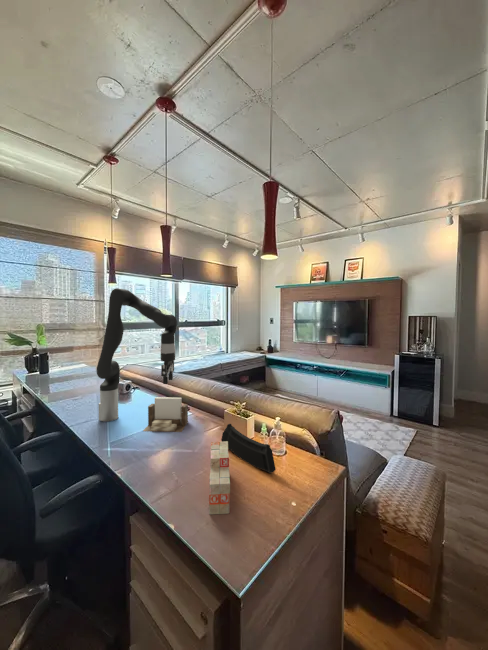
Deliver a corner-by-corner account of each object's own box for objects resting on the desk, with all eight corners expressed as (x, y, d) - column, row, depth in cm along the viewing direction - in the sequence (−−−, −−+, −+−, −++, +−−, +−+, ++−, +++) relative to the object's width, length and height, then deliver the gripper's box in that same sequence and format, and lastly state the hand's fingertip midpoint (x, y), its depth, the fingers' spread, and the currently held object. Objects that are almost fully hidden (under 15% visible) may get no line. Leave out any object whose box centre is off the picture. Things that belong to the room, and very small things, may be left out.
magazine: (280, 452, 98) (232, 408, 120) (274, 455, 96) (226, 410, 118) (270, 489, 102) (225, 441, 124) (264, 493, 100) (220, 443, 122)
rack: (142, 433, 135) (142, 411, 135) (152, 422, 149) (152, 402, 149) (181, 433, 134) (181, 412, 134) (188, 422, 148) (188, 403, 148)
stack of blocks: (230, 514, 80) (229, 473, 79) (208, 515, 79) (208, 474, 79) (228, 472, 101) (228, 440, 101) (211, 473, 100) (211, 441, 100)
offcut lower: (150, 430, 136) (150, 426, 136) (153, 427, 140) (153, 423, 140) (174, 430, 135) (174, 427, 135) (176, 427, 139) (176, 423, 139)
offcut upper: (152, 426, 136) (151, 422, 136) (154, 423, 140) (154, 419, 140) (169, 426, 136) (169, 422, 136) (171, 424, 139) (171, 420, 139)
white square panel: (154, 424, 144) (154, 398, 144) (156, 422, 146) (156, 397, 146) (180, 424, 143) (180, 398, 143) (181, 423, 145) (181, 397, 145)
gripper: (165, 350, 151) (165, 378, 151) (156, 353, 137) (156, 385, 137) (178, 350, 151) (178, 378, 151) (170, 353, 136) (170, 385, 137)
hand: (168, 381), depth 144 cm, fingers open, 8 cm apart
